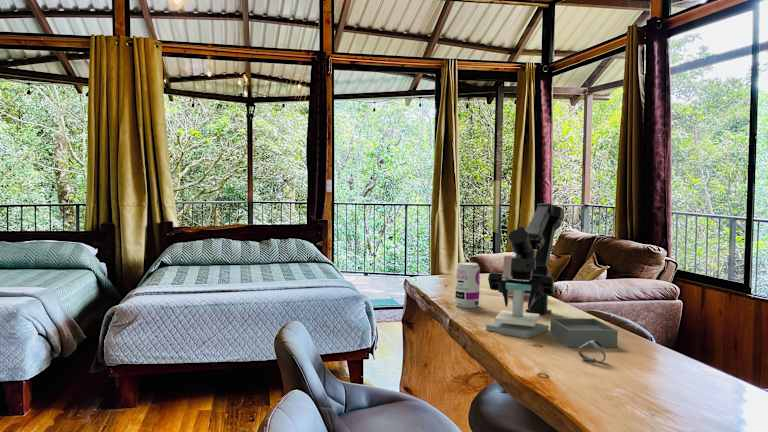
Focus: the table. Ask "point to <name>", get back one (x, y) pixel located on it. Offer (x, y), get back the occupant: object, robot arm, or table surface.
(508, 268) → the greeting card
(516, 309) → the cover
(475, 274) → the supplement can
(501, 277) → the robot arm
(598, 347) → the wristwatch
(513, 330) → the pad
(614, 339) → the housing
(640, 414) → the table surface
